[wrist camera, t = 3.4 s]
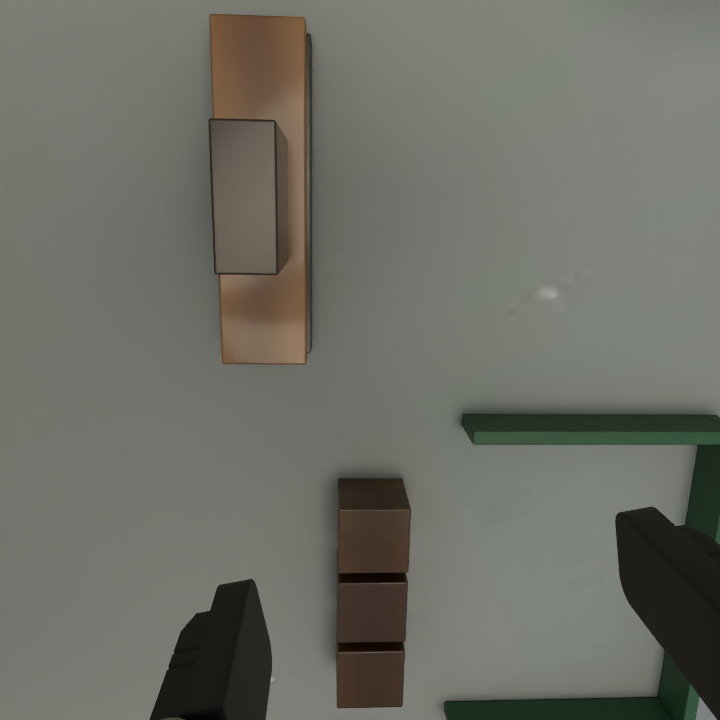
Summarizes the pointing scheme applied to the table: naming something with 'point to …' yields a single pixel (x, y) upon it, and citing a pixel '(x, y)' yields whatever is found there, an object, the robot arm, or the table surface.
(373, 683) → the cube
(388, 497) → the cube
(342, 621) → the cube
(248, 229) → the hand brush
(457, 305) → the table surface
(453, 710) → the frame
